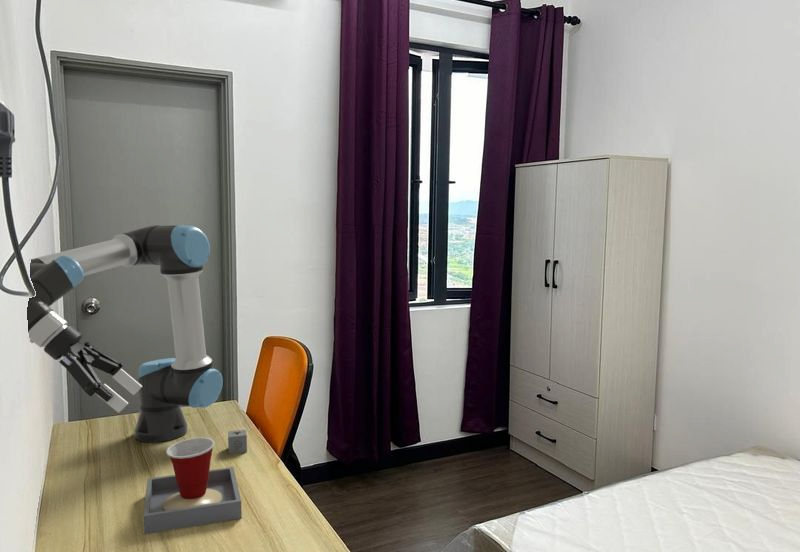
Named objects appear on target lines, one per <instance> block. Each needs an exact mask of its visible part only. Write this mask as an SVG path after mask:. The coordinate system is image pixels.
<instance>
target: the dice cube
mask: <svg viewBox="0 0 800 552" xmlns="http://www.w3.org/2000/svg"><path fill="white" fill-rule="evenodd" d="M247 438H248V436H247V430H246V429H239V430H238V429H237V430H229V431H227V440H228V441H227V442H228V443H227V445H228V448H227V449H228V454H229V455H233V454H240V453H241V454H242V453H247V452H248V439H247Z"/></svg>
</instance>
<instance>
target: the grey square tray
mask: <svg viewBox="0 0 800 552" xmlns="http://www.w3.org/2000/svg"><path fill="white" fill-rule="evenodd" d="M146 481H147V482H146V488H145V489H146V490H145V500H144V506H143V507H144V509H143V516H142V517H143V518H142V519H143V534H144V535H149V534H155V533H160V532H166V531H167V532H168V531H173V530H180V529H185V528H191V527H198V526H203V525H208V524H214V523H215V524H216V523H222V522H229V521H233V520H240V519H242V518H243V517H242V516H243V515H242V512H243V511H242V499H241V494H240V490H239V485H238V480H237V477H236V472H235V467H234V466H230V467H223V468H215V469H210V470H209V478H208V482H207V489H206V493H205V494H204V495H203V496H201V497H199V498H195V499H184V498H182V497H181V495H180V493H179V488H178V484H177V481H176V477H175V474H170V475H163V476H157V477H148V478H147V480H146Z"/></svg>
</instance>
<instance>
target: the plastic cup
mask: <svg viewBox="0 0 800 552" xmlns="http://www.w3.org/2000/svg"><path fill="white" fill-rule="evenodd" d="M215 443H216V442H215V441H214V440H213V439H212V438H209V437H192V438H187V439H183V440H182V439H181V440H180V441H178V442H175V443H173V444H172V445H170V446H169V447H168V448H167V449H166V451H165V453H166V454H167V456H168V458H169V459H170V461H171V463H172V467H173V471H174V475H175V477H176V481H177V484H178V488H179V493H180V495H181V497H182V498H184V499H195V498H199V497H201V496H203V495H204V494H205V493H206V489H207V482H208V478H209V470H211V460H212V455H213V448H214V446H215Z"/></svg>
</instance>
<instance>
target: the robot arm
mask: <svg viewBox="0 0 800 552" xmlns="http://www.w3.org/2000/svg"><path fill="white" fill-rule="evenodd" d="M210 254H211V247H210V242H209V239H208V237H207V235H206V234H205V233H204V231H202V230H201V229H200V228H198V227H196V226H193V225H186V224H179V225H178V224H176V225H175V224H174V225H173V224H172V225H170V224H169V225H150V226H149V225H148V226H145V227H141V228H137V229H134V230H130V231H127V232H123V233H120V234H116V235H115V236H114V237H113V238H112V239H110V240H105V241H102V242H97V243H93V244H89V245H84V246H80V247H76V248H73V249H68V250H64V251H60V252H56V253H51V254H47V255H46V254H45V255H44V256H39V257H35V258H32V259H31V258H30V259H31V263H30V278H31V281H32V283H33V286H34V289H35V291H36V296H35V297H32V298H29V301H28V307H27V320H28V333H29V338H30V339H29V338H28V339H29V342H30V343H31V344H35V345H37V346H38V348H43V350H44V352H45V353H46V354H47V355H48V356H50V357H51V358H52V359H53V360H55V361H58V360H59V361H58V362H59V363H60V365H62V366H63V367H64V368H65V369H66V370H67V371H68V373H69V374H70V376H71V377H72V378H74V380H75V381H76V382H77V384H78V385H79V386H80V388H81V389H82V390H83V391H84V392H85V393H86V394H87V396H89V397H92V396H94V394H95V395H96V396H97V397H98V398H100V399H101V401H103V402H104V403H106V404H107V405H108V406H109V407H111V409H113V410H114V411H115V412H117V413H118V414H119V413H121V412H122V411H123V410H124V409H125V408H126V406H128V404H129V402H128V401H127V400H126V399H124V398H123V397H122V396H121V395H120V394H118V393H117V392H116V391H115V390H113V389H112V388H111V387H110V386H109V385H108V384H106V383H104V384H103V383H102V381H101V380H100V378H99V377H98V375H97V373H96V372H95V370H94V369H93V368H95V369H97V370H100V371H102V372H104V373H106V374H109V375H111V376H112V379H113V380H115V381H116V382H117V383H118V384H119V385H120V386H122V387H123V388H124V389H125V390H127V391H128V392H129V393H130V394H131V395H133V396H135V395H136V394H137V393H138V394H139V414H138V418H137V422H136V425H135V428H134V438H135V440H137V441H140V442H146V443H157V442H158V443H159V442H166V441H171V440H175V439H178V438H180V437H182V436H184V435H185V434H187V432H188V422H187V419H186V417H185V415H184V413H183V410H182V408H181V406H183V407H190V408H193V409H195V408H198V409H199V408H200V409H205V408H208V407H210V406H212V405H213V404H214V403H215V402H216V401H217V400H218V398H219V396H220V394H221V393H222V392H221V391H222V388H223V383H224V382H223V381H224V379H223V375H222V373H221V372H220V370H218V369H216V368H214V366H213V359H212V358H211V357H210V356H209V355H207V349H206V338H205V329H204V328H205V327H204V321H203V319H204V318H203V309H202V303H201V302H202V300H201V290H200V280H199V276H200V275H201V274H202V272H203V271H204V265H205V264H206V263H207V262H208V261H209V257H210ZM139 265H142V266H146V265H147V266H149V265H150V266H159V269H160V270H159V271H160V275H161V276H162V277H163V278H165V280H167V281H166V282H167V291H168V300H169V308H170V309H169V310H170V318H171V325H172V326H171V327H172V334H173V335H172V336H173V344H174V355H175V357H169V358H160V359H155V360H151V361H147V362H143V363H142V364H140V366H139V368H138V377H137V378H138V381H136V379H135V378H134V377H132V376H131V375H130V374H129V373H127V372H126V371H125V370H124V369H123V368H122V367H124V364H123V363H122V362H120V361H119V360H117V359H115V358H113V357H112V356H110V355H108V354H107V353H105V352H104V351H101V350H100V349H98V348H96V347H95V346H94V345H92V344H91V343H90V342H89V341H85V342H84V343H83V344H82V343H80V341H81V340H82V338H83V334H82V333H81V332H80V331H78V329H76V328H75V327H74V326H73V325H68V321H67V320H66V319H65V318H63V317H62V316H61V315H59V314H58V313H57V312H56V311H55V310H54V309H52V308H51V306H52V305H53V304H54V303H55V302H57V301H58V300H60V299H61V298H62V297H64V296H65V295H66V294H68V293H69V292H71V290H74V289H75V287H76V286H78V285H79V284H80V283H81V282H83V280H84V278H85V276H88V275H92V274H95V273H100V272H103V271H106V270H111V269H114V268H118V267H124V268H130V267H133V266H139ZM61 358H62V359H61Z"/></svg>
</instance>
